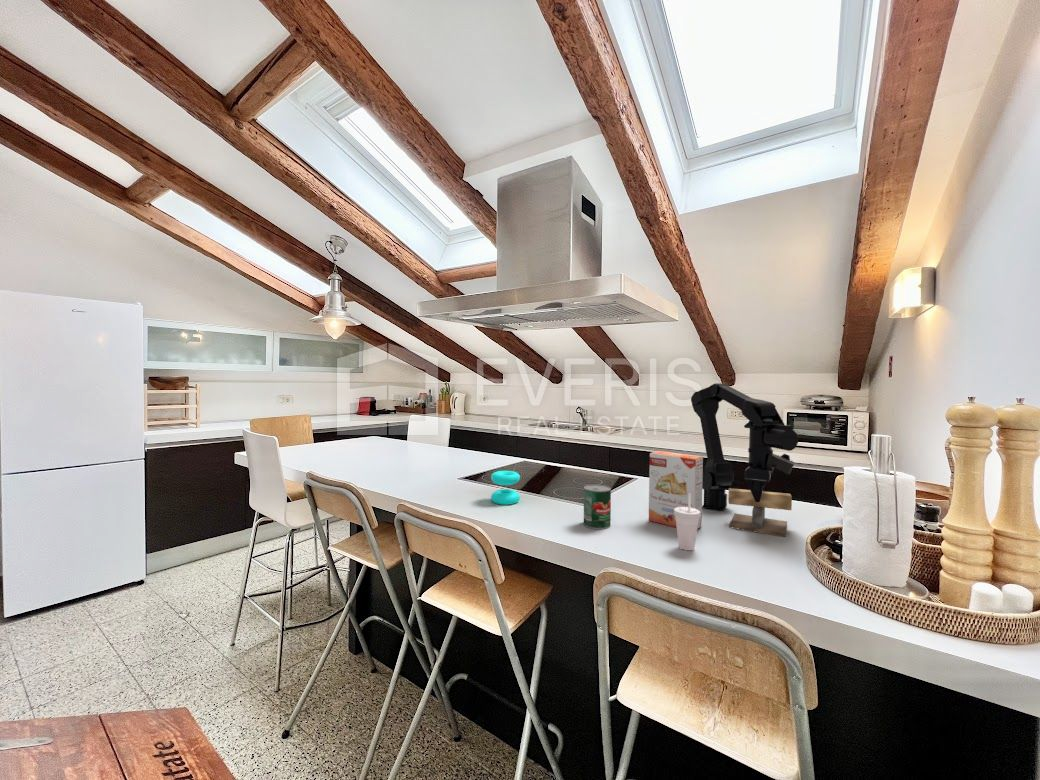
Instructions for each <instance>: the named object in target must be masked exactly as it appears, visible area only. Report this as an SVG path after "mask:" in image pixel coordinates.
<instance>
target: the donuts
mask: <svg viewBox="0 0 1040 780" xmlns="http://www.w3.org/2000/svg"><path fill="white" fill-rule="evenodd" d="M490 478H491V482H493V483H494V484H496V485H499V486H500V485H501V486H511V485H514V484H516V483H518V482H519V481H520V479H521V475H520V474H519V473H518V472H516V471H513V470H498V471H494V472H493V473H491V476H490ZM520 498H521V496H520V494H519V493H518V492H517V491H516V490H513V489H498V490H495V491H494V492H493V493H491V496H490V499H491V501H492V502H493V503H494V504H497V505H503V506H505V505H507V506H509V505H514V504H516V503H518V502H519V501H520Z"/></svg>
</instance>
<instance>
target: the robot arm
mask: <svg viewBox="0 0 1040 780" xmlns="http://www.w3.org/2000/svg"><path fill="white" fill-rule="evenodd" d="M722 401H725V402H726V403H728V404H730V405H732V406H733V407H735V408H737V409H739V410H740V412H741V415H743V416H744V417H745V418H746V419H747V420H748V422H747V423H746V424H744V425H743V427H744V428H745V429H749V433H748V434H749V435H748V437H749V438H748V441H749V443H748V448H747V449H748V450H747V452H748V461H747V468H745V470H744V480H745V481H746V483H747V485H748V489H749V490H751V492H752V495H753V497H754V500H755V502H760V499H761V495H762V491H764V489H765V486H766V484H768V483H769V482H770V481H771V475H772V474H773V472H774V469H776V470H779V471H781V472H783V473H784V474H786V475H791V472H792V469H793V468H794V466H795V462H794V461H793V460H791V458H790V457H791V456H790V455H789V454H786V453H783V454H782V455H777V454H775V453H774V449H779V450H782V451H789V452H790V451H793V450H795V449H796V448H797V446H798V444H799V437H798V435H797V433H796V431H795V430H793V425H791V424H785V423H784V421H783V419H782V417H781V416H780V414H779V411H778V410H777V408H776V405H775V404H774V403H773V402H771V401H768V400H763V399H757V398H753V397H751V396H749V395H747V394H745V393H743V392H741V391H739V390H737V389H736V388H733V387H731V386H730V385H729V384H727V383H723V382H722V383H721V382H720V383H718V382H717V383H713V384H711V385H709V386H706V388H702V389H700V390H698V391H697V390H696V391H695V392H694V393H693V394H692V396H691V397H690V402H691V405H692V408H693V411H694V412H695V414H696V415H697V417H699V418H700V419H699V420H700V425H701V431H702V436H703V442H704V447H705V453H706V458H707V461H706V463H705V466H704V468H703V469H704V470H703V473H704V474H703V483H702V490H703V504H702V509H707V510H708V509H710V510H716V511H723V512H724V511H725V510H726V508H727V506H728V493H726V491H727V490H728V491H729V488H731V487H732V485H733V482H734V476H735V472H734V470H733V464H732V462H728V461H727V460H726V459H725V457H724V453H723V447H722V444H721V443H722V442H721V438H720V432H719V426H718V421H717V413H718V411H719V408H720V404H719V403H720V402H722ZM773 448H774V449H773Z"/></svg>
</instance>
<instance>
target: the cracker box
mask: <svg viewBox="0 0 1040 780" xmlns="http://www.w3.org/2000/svg"><path fill="white" fill-rule="evenodd" d="M703 463H704V456H700V455H694V454H685V453H678V452H677V453H676V452H672V451H671V452H670V451H666V450H665V451H663V450H657V451H652V452H650V453H649V474H648V475H649V478H648V479H649V483H648V484H649V485H648V521H649V522H654V523H658V524H662V525H666V526H669V527H675V528H677V526H676V517H675V514H674V509H675V508H676V507H688V497H689V493H690V494H691V508H695V509H698V510H699V511H700V515H701V516H700V517H699V521H698V528H699V529H700V528H702V524H703V523H702V521H703V519H702V518H703V515H702V514H703V507H702V506H703V489H702V483H703V476H704V470H703V469H704V468H703V467H704V464H703ZM698 528H697V530H698Z"/></svg>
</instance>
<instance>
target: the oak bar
mask: <svg viewBox="0 0 1040 780" xmlns="http://www.w3.org/2000/svg"><path fill="white" fill-rule="evenodd" d="M792 497H793V496H792V495H791V493H785V492H784V493H783V492H775V491H774V492H773V491H764V490H763V491H762V495H761V499H760V502H755V500H754V497H753V495H752V492H751V490H750V489H740V488H729V490H728V493H727V503H728V504H729V505H735V506H746V507H763V508H765V509H766V508H767V509H775V510H785V511H792V507H793V506H792V504H793V503H792V501H793V498H792Z"/></svg>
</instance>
